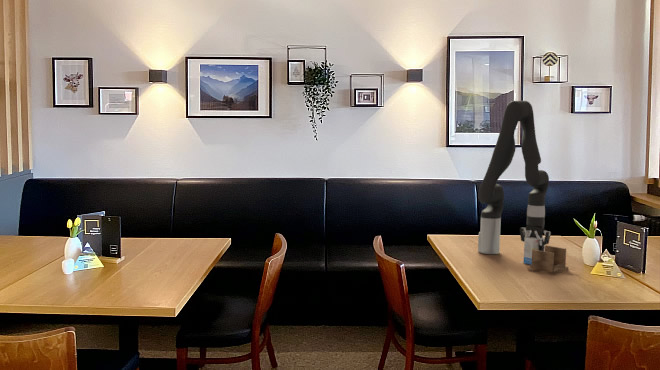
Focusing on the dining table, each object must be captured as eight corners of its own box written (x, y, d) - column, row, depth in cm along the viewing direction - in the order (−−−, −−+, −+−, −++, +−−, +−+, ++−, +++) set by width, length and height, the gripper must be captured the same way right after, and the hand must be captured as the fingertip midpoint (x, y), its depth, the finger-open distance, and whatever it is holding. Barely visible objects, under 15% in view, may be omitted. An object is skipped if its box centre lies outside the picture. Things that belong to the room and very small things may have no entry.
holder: (528, 270, 256) (529, 249, 255) (543, 264, 266) (544, 244, 265) (553, 275, 248) (554, 254, 247) (568, 269, 259) (569, 248, 258)
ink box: (532, 265, 265) (533, 232, 263) (523, 263, 269) (524, 230, 267) (544, 262, 269) (546, 230, 268) (535, 260, 273) (536, 228, 272)
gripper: (516, 214, 269) (515, 251, 271) (547, 217, 259) (545, 256, 261) (524, 212, 274) (523, 248, 276) (555, 216, 264) (553, 253, 266)
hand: (534, 252), depth 268 cm, fingers closed on ink box, 5 cm apart
